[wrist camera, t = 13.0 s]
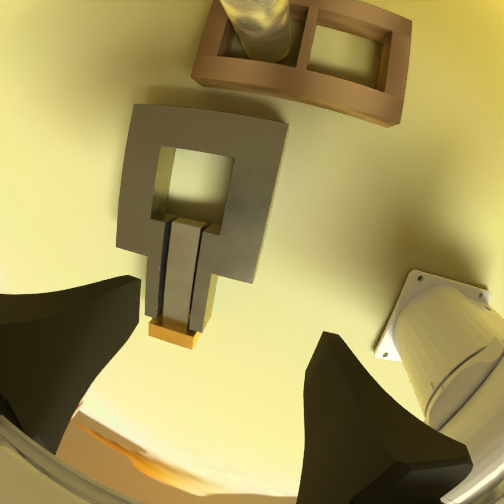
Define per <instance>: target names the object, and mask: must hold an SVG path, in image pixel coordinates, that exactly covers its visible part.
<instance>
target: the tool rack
mask: <svg viewBox="0 0 504 504" xmlns="http://www.w3.org/2000/svg"><path fill="white" fill-rule="evenodd" d="M289 13H290V20H295V21H300V22H305V23H306V24H305V29H304V33H303V38H302V42H301V47H300V51H299V56H298V60H297V65H296V68H295V67H290V66H285V65H280V64H274V63H268V62H262V61H255V60H248V59H239V58H230V57H229V53H230V49H231V46H232V42H233V38H234V35H235V29H234V27H233V25H232V23H231V21H230V19H229V17H228V15H227V13H226V11H225V9H224V7H223V5H222V3H221V2H220V0H214V1H213V4H212V7H211V10H210V13H209V16H208V19H207V22H206V25H205V29H204V32H203V35H202V38H201V42H200V45H199V49H198V52H197V56H196V59H195V63H194V67H193V71H192V75H191V78H192V79H193V80H195V81H196V82H197V83H199V84H200V85H201V86H203V87H212V88H221V89H229V90H236V91H243V92H250V93H256V94H262V95H267V96H272V97H278V98H283V99H287V100H292V101H297V102H301V103H305V104H309V105H314V106H317V107H321V108H325V109H329V110H333V111H336V112H340V113H343V114H347V115H350V116H353V117H356V118H360V119H363V120H366V121H369V122H372V123H375V124H378V125H381V126H383V127H386V128H388V127H391V126H394V125H397V124H400V120H401V114H402V108H403V102H404V95H405V89H406V81H407V73H408V65H409V55H410V44H411V30H412V21H411V20H409V19H406V18H404V17H402V16H399V15H396V14H394V13H391V12H389V11H386V10H383V9H380V8H377V7H374V6H371V5H368V4H365V3H362V2H359V1H355V0H289ZM316 25H320V26H324V27H328V28H332V29H336V30H340V31H343V32H347V33H350V34H354V35H357V36H360V37H364V38H367V39H370V40H373V41H376V42H378V43H381V44H382V50H381V57H380V64H379V71H378V77H377V83H376V89H372V88H369V87H366V86H363V85H360V84H357V83H354V82H351V81H347V80H344V79H340V78H337V77H333V76H329V75H326V74H322V73H318V72H313V71H309V70H307V67H308V62H309V57H310V53H311V48H312V43H313V38H314V33H315V29H316Z"/></svg>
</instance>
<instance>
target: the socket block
mask: <svg viewBox="0 0 504 504" xmlns="http://www.w3.org/2000/svg"><path fill="white" fill-rule="evenodd" d="M288 132H289V124H286V123H281V122H277V121H272V120H267V119H262V118H256V117H251V116H245V115H239V114H233V113H226V112H220V111H212V110H205V109H196V108H187V107H176V106H164V105H149V104H134V108H133V113H132V117H131V122H130V128H129V133H128V139H127V145H126V151H125V157H124V164H123V171H122V179H121V188H120V197H119V207H118V219H117V234H116V247H118V248H121V249H124V250H128V251H131V252H135V253H138V254H142V255H145V256H148V262H147V277H146V296H145V315H147V316H149V317H152V318H155V319H157V318H158V317H159V315H160V314H161V313H162V312H163V306H164V293H165V282H166V271H167V261H168V252H169V244H170V235H171V227H172V221H174V220H176V219H178V218H179V215H176V214H171V213H167V212H166V205H167V198H168V192H169V185H170V179H171V173H172V167H173V161H174V155H175V150H176V148H181V149H187V150H194V151H200V152H206V153H212V154H217V155H223V156H228V157H233V158H235V161H234V165H233V170H232V175H231V180H230V185H229V190H228V195H227V200H226V205H225V211H224V216H223V221H222V225H219V224H215V223H213V224H212V225H210V226H209V227H208V228H207V229H205V230H204V231H203V234H202V240H201V246H200V253H199V259H198V266H197V272H196V279H195V286H194V294H193V301H192V309H191V317H190V325H189V329H190V330H194V331H197V332H200V333H202V332H203V330H204V328H205V326H206V324H207V322H208V321H209V319H210V317H211V312H212V306H213V300H214V295H215V289H216V283H217V278H218V275H219V276H223V277H227V278H231V279H235V280H239V281H243V282H247V283H251V284H252V283H253V280H254V277H255V274H256V271H257V268H258V263H259V259H260V255H261V250H262V246H263V242H264V238H265V233H266V229H267V225H268V220H269V216H270V212H271V207H272V203H273V199H274V194H275V190H276V185H277V181H278V177H279V172H280V168H281V163H282V159H283V154H284V150H285V146H286V141H287V137H288Z"/></svg>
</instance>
